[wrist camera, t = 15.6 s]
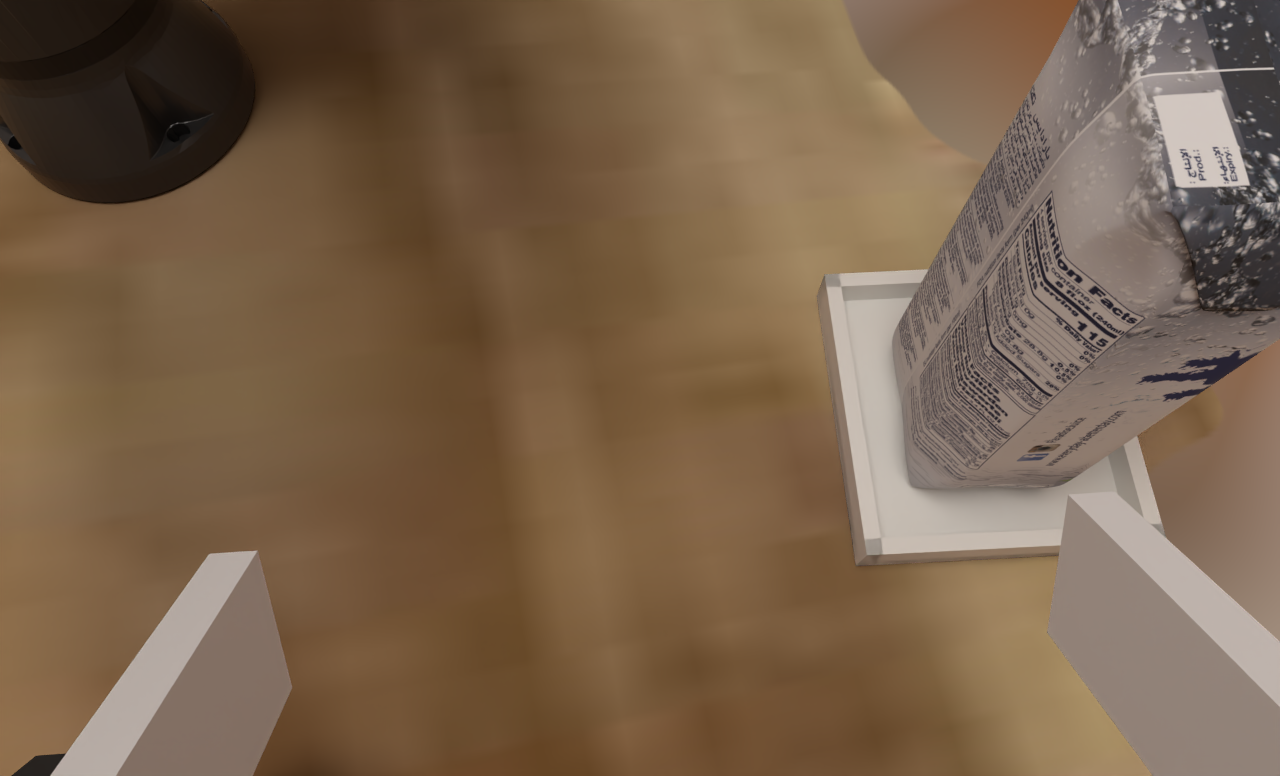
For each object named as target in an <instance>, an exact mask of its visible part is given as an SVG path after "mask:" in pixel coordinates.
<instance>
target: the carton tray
mask: <svg viewBox="0 0 1280 776" xmlns="http://www.w3.org/2000/svg"><path fill="white" fill-rule="evenodd" d="M928 270H929V269H927V270H906V271H885V272H864V273H843V274H825V275H824V278H823V280H822V283H821V286H820V289H819V292H818V294H817V301H818V308H819V315H820V322H821V329H822V336H823V343H824V350H825V357H826V364H827V370H828V377H829V384H830V391H831V398H832V405H833V412H834V419H835V426H836V433H837V439H838V446H839V453H840V460H841V467H842V474H843V481H844V488H845V495H846V502H847V509H848V515H849V522H850V529H851V536H852V543H853V550H854V557H855V564H856V566H866V565H886V564H905V563H924V562H944V561H963V560H982V559H1001V558H1021V557H1040V556H1059V552H1060V545H1061V539H1062V532H1063V526H1064V519H1065V512H1066V506H1067V499H1068V495H1069V494H1083V493H1098V492H1112V491H1115V492H1116V493H1117V494H1118V495H1119V496H1120V497H1121V498H1122V499H1123V500H1124V501H1126V502H1127V503H1128V504H1129V505H1130V506H1131V507H1132V508H1133V509H1134V510H1135V511H1137V512H1138V513H1139V514H1140V515H1141V516H1142V517H1143V518H1144V519H1145V520H1146V521H1148V522H1149V523H1150V524H1151V525H1152V526H1153V527H1154V528H1155V529H1156V530H1157V531H1159V532H1160V533H1161V534H1162V535H1163V536H1164V537H1165V538H1166V536H1165V532H1164V529H1163V525H1162V522H1161V519H1160V515H1159V511H1158V508H1157V504H1156V501H1155V497H1154V494H1153V490H1152V487H1151V483H1150V480H1149V476H1148V473H1147V469H1146V466H1145V462H1144V458H1143V455H1142V451H1141V448H1140V444H1139V441H1138V437H1137V436H1136V437H1134V438H1133V439H1131V440H1130V441H1128V442H1127V443H1125V444H1124V445H1123V446H1121V447H1120V448H1118V449H1117V450H1115V451H1114V452H1112V453H1111V454H1109V455H1108V456H1106V457H1105V458H1103V459H1102V460H1100V461H1099V462H1097V463H1096V464H1094V465H1093V466H1091V467H1090V468H1088V469H1087V470H1085V471H1084V472H1082V473H1081V474H1079V475H1078V476H1076V477H1075V478H1073V479H1072V480H1070V481H1068V482H1067V483H1065V484H1063V485H1060V486H1056V487H1049V488H1004V487H969V488H947V489H927V488H917V487H914V486H912V485H911V484H910V481H909V476H908V470H907V463H906V455H905V443H904V426H903V414H902V406H901V400H900V394H899V388H898V383H897V378H896V372H895V366H894V359H893V349H892V339H893V335H894V331H895V329H896V327H897V325H898V323H899V321H900V320H901V318H902V316H903V314H904V312H905V310H906V309H907V307H908V305H909V303H910V302H911V300H912V298H913V296H914V294H915V293H916V291H917V289H918V287H919V286H920V284H921V282H922V280H923V279H924V277H925V275H926V273H927V271H928Z"/></svg>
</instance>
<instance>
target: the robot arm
mask: <svg viewBox="0 0 1280 776" xmlns="http://www.w3.org/2000/svg"><path fill="white" fill-rule="evenodd" d="M254 93H255V81H254V74H253V70H252V67H251V64H250V61H249V59H248V57H247V55H246V53H245V52H244V50H243V48H242V46H241V45H240V43H239V41H238V39H237V38H236V36H235V34H234V32H233V31H232V29H231V28H230V27H229V25H228V24H227V23H226V22H225V20H224V19H223V18H222V17H221V16H220V15H219V14H218V13H217V12H215V11H214V10H213V9H212V8H210V7H209V6H207V5H206V4H205V3H204V2H202V1H201V0H0V140H1V141H2V143H3V144H4V146H5V147H6V148H7V150H8V151H9V152H10V153H11V155H12V156H13V157H14V158H15V159H16V160H17V161H18V162H19V163H20V164H21V165H23V166H24V167H25V168H26V169H27V170H28V171H29V172H30V173H31V174H32V175H33V176H34V177H35V178H36V179H37V180H38V181H40V182H41V183H42V184H44V185H45V186H47V187H48V188H50V189H52V190H54V191H56V192H58V193H60V194H62V195H65V196H68V197H71V198H75V199H79V200H85V201H92V202H124V201H131V200H137V199H142V198H146V197H150V196H154V195H157V194H160V193H163V192H165V191H168V190H171V189H173V188H175V187H177V186H179V185H181V184H183V183H185V182H187V181H189V180H191V179H192V178H194V177H196V176H197V175H199V174H200V173H202V172H203V171H205V170H206V169H207V168H209V167H210V166H211V165H212V164H214V163H215V162H216V161H217V160H218V159H219V158H220V157H221V156H222V155H223V154H224V153H225V152H226V151H227V150H228V149H229V148H230V147H231V146H232V144H233V143H234V142H235V140H236V139H237V138H238V136H239V135H240V133H241V131H242V130H243V128H244V126H245V124H246V122H247V120H248V118H249V115H250V112H251V109H252V105H253V101H254ZM1047 633H1048V634H1049V636H1050V637H1051V638H1052V640H1053V641H1054V642H1055V644H1056V645H1057V646H1058V648H1059V649H1060V650H1061V652H1062V653H1063V655H1064V656H1065V657H1066V659H1067V660H1068V661H1069V663H1070V664H1071V665H1072V667H1073V668H1074V669H1075V671H1076V672H1077V673H1078V675H1079V676H1080V678H1081V679H1082V680H1083V682H1084V683H1085V684H1086V686H1087V687H1088V688H1089V690H1090V691H1091V692H1092V694H1093V695H1094V697H1095V698H1096V699H1097V701H1098V702H1099V703H1100V705H1101V706H1102V707H1103V709H1104V710H1105V711H1106V713H1107V714H1108V715H1109V717H1110V718H1111V720H1112V721H1113V722H1114V724H1115V725H1116V726H1117V728H1118V729H1119V730H1120V732H1121V733H1122V734H1123V736H1124V737H1125V738H1126V740H1127V741H1128V743H1129V744H1130V745H1131V747H1132V748H1133V749H1134V751H1135V752H1136V753H1137V755H1138V756H1139V757H1140V759H1141V760H1142V762H1143V763H1144V764H1145V766H1146V767H1147V768H1148V770H1149V771H1150V772H1151V774H1152V775H1153V776H1280V641H1278V640H1277V639H1276V638H1275V637H1274V636H1273V635H1272V634H1271V633H1269V631H1267V630H1266V629H1265V628H1264V627H1263V626H1262V625H1261V624H1260V623H1258V621H1256V620H1255V619H1254V618H1253V617H1252V616H1251V615H1250V614H1249V613H1248V612H1246V611H1245V610H1244V609H1243V608H1242V607H1241V606H1240V605H1239V604H1238V603H1237V602H1236V601H1234V600H1233V599H1232V598H1231V597H1230V596H1229V595H1228V594H1227V593H1226V592H1224V591H1223V590H1222V589H1221V588H1220V587H1219V586H1218V585H1217V584H1216V583H1215V582H1214V581H1212V580H1211V579H1210V578H1209V577H1208V576H1207V575H1206V574H1205V573H1204V572H1203V571H1201V570H1200V569H1199V568H1198V567H1197V566H1196V565H1195V564H1194V563H1193V562H1192V561H1190V560H1189V559H1188V558H1187V557H1186V556H1185V555H1184V554H1183V553H1182V552H1180V551H1179V550H1178V549H1177V548H1176V547H1175V546H1174V545H1173V544H1172V543H1171V542H1170V541H1168V540H1167V539H1166V538H1165V537H1164V536H1163V535H1162V534H1161V533H1160V532H1159V531H1157V530H1156V529H1155V528H1154V527H1153V526H1152V525H1151V524H1150V523H1149V522H1148V521H1146V520H1145V519H1144V518H1143V517H1142V516H1141V515H1140V514H1139V513H1138V512H1137V511H1135V510H1134V509H1133V508H1132V507H1131V506H1130V505H1129V504H1128V503H1127V502H1126V501H1124V500H1123V499H1122V498H1121V497H1120V496H1119V495H1118V494H1117V493H1116V492H1115V491H1112V492H1098V493H1083V494H1069V495H1068V499H1067V506H1066V512H1065V519H1064V526H1063V532H1062V539H1061V545H1060V552H1059V558H1058V565H1057V572H1056V578H1055V585H1054V591H1053V598H1052V605H1051V611H1050V618H1049V624H1048V631H1047ZM291 689H292V685H291V681H290V677H289V673H288V669H287V665H286V661H285V657H284V653H283V649H282V645H281V641H280V637H279V633H278V629H277V625H276V621H275V617H274V613H273V609H272V605H271V601H270V597H269V593H268V589H267V585H266V581H265V577H264V574H263V570H262V566H261V562H260V558H259V554H258V551H244V552H230V553H215V554H209V555H208V556H207V558H206V559H205V561H204V562H203V563H202V565H201V566H200V568H199V569H198V570H197V572H196V573H195V575H194V576H193V577H192V579H191V580H190V581H189V583H188V584H187V586H186V587H185V588H184V590H183V591H182V593H181V594H180V595H179V597H178V598H177V600H176V601H175V602H174V604H173V605H172V607H171V608H170V609H169V611H168V612H167V614H166V615H165V616H164V618H163V619H162V621H161V622H160V623H159V625H158V626H157V628H156V629H155V630H154V632H153V633H152V635H151V636H150V637H149V639H148V640H147V641H146V643H145V644H144V646H143V647H142V648H141V650H140V651H139V653H138V654H137V655H136V657H135V658H134V660H133V661H132V662H131V664H130V665H129V667H128V668H127V669H126V671H125V672H124V674H123V675H122V676H121V678H120V679H119V681H118V682H117V683H116V685H115V686H114V688H113V689H112V690H111V692H110V693H109V695H108V696H107V697H106V699H105V700H104V701H103V703H102V704H101V706H100V707H99V708H98V710H97V711H96V713H95V714H94V715H93V717H92V718H91V720H90V721H89V722H88V724H87V725H86V727H85V728H84V729H83V731H82V732H81V734H80V735H79V736H78V738H77V739H76V741H75V742H74V743H73V745H72V746H71V748H70V749H69V750H68V752H67V753H66V754H54V755H41V756H35V757H34V758H33V759H32V760H30V761H29V762H28V763H27V764H25V765H24V766H23V767H22V768H20V769H19V770H18V771H17V772H15V773H14V774H13V775H12V776H253V774H254V772H255V769H256V767H257V765H258V763H259V760H260V758H261V756H262V754H263V751H264V749H265V747H266V745H267V743H268V740H269V738H270V736H271V734H272V731H273V729H274V727H275V725H276V723H277V720H278V718H279V716H280V714H281V711H282V709H283V707H284V705H285V703H286V700H287V698H288V696H289V694H290V691H291Z"/></svg>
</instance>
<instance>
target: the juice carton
mask: <svg viewBox="0 0 1280 776" xmlns="http://www.w3.org/2000/svg"><path fill="white" fill-rule="evenodd" d="M1278 339H1280V0H1079V1H1078V3H1077V5H1076V7H1075V9H1074V11H1073V13H1072V14H1071V16H1070V18H1069V20H1068V22H1067V24H1066V26H1065V28H1064V30H1063V32H1062V34H1061V36H1060V38H1059V40H1058V42H1057V44H1056V45H1055V47H1054V49H1053V51H1052V53H1051V55H1050V57H1049V58H1048V60H1047V62H1046V64H1045V65H1044V67H1043V69H1042V71H1041V72H1040V74H1039V76H1038V78H1037V79H1036V81H1035V83H1034V84H1033V86H1032V88H1031V90H1030V91H1029V93H1028V95H1027V97H1026V98H1025V100H1024V102H1023V104H1022V105H1021V107H1020V109H1019V111H1018V112H1017V114H1016V116H1015V118H1014V119H1013V121H1012V123H1011V125H1010V126H1009V128H1008V130H1007V132H1006V133H1005V135H1004V137H1003V139H1002V141H1001V142H1000V144H999V146H998V148H997V150H996V151H995V153H994V155H993V157H992V158H991V160H990V162H989V163H988V165H987V167H986V169H985V171H984V172H983V174H982V176H981V178H980V179H979V181H978V183H977V185H976V186H975V188H974V190H973V192H972V194H971V195H970V197H969V199H968V201H967V202H966V204H965V206H964V208H963V209H962V211H961V213H960V215H959V217H958V218H957V220H956V222H955V224H954V225H953V227H952V229H951V231H950V232H949V234H948V236H947V238H946V240H945V241H944V243H943V245H942V247H941V248H940V250H939V252H938V254H937V255H936V257H935V259H934V261H933V263H932V264H931V266H930V268H929V270H928V271H927V273H926V275H925V277H924V279H923V280H922V282H921V284H920V286H919V287H918V289H917V291H916V293H915V294H914V296H913V298H912V300H911V302H910V303H909V305H908V307H907V309H906V310H905V312H904V314H903V316H902V318H901V320H900V321H899V323H898V325H897V327H896V329H895V331H894V335H893V339H892V349H893V359H894V366H895V372H896V378H897V383H898V388H899V394H900V400H901V406H902V414H903V426H904V443H905V455H906V463H907V470H908V476H909V481H910V484H911V485H912V486H914V487H917V488H927V489H947V488H969V487H1004V488H1049V487H1056V486H1060V485H1063V484H1065V483H1067V482H1068V481H1070V480H1072V479H1073V478H1075V477H1076V476H1078V475H1079V474H1081V473H1082V472H1084V471H1085V470H1087V469H1088V468H1090V467H1091V466H1093V465H1094V464H1096V463H1097V462H1099V461H1100V460H1102V459H1103V458H1105V457H1106V456H1108V455H1109V454H1111V453H1112V452H1114V451H1115V450H1117V449H1118V448H1120V447H1121V446H1123V445H1124V444H1125V443H1127V442H1128V441H1130V440H1131V439H1133V438H1134V437H1136V436H1137V435H1139V434H1140V433H1142V432H1143V431H1145V430H1146V429H1148V428H1149V427H1151V426H1152V425H1154V424H1155V423H1156V422H1158V421H1159V420H1161V419H1162V418H1164V417H1165V416H1167V415H1168V414H1170V413H1171V412H1173V411H1174V410H1176V409H1177V408H1179V407H1180V406H1182V405H1183V404H1185V403H1186V402H1187V401H1189V400H1190V399H1192V398H1193V397H1195V396H1196V395H1198V394H1199V393H1201V392H1202V391H1204V390H1205V389H1207V388H1208V387H1210V386H1211V385H1213V384H1214V383H1215V382H1217V381H1218V380H1220V379H1221V378H1223V377H1224V376H1226V375H1227V374H1229V373H1230V372H1232V371H1233V370H1235V369H1236V368H1238V367H1239V366H1241V365H1242V364H1243V363H1245V362H1246V361H1248V360H1249V359H1251V358H1252V357H1254V356H1255V355H1257V354H1258V353H1259V352H1261V351H1263V350H1264V349H1265V348H1267V347H1268V346H1270V345H1271V344H1273V343H1274V342H1276V341H1277V340H1278Z"/></svg>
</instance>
